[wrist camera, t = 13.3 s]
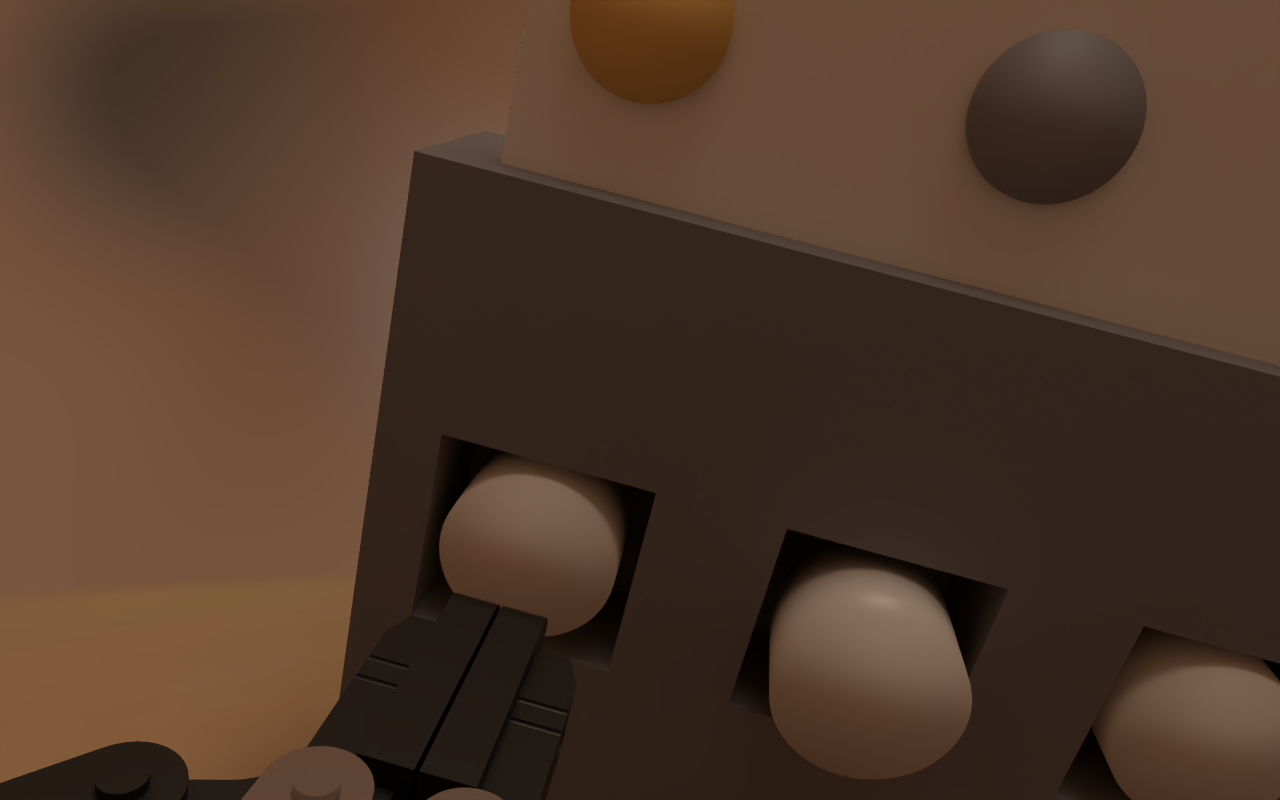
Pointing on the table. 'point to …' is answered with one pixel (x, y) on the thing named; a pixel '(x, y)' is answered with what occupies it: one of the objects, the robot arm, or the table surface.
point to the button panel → (809, 476)
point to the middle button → (865, 665)
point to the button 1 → (537, 539)
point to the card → (944, 139)
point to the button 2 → (1192, 722)
